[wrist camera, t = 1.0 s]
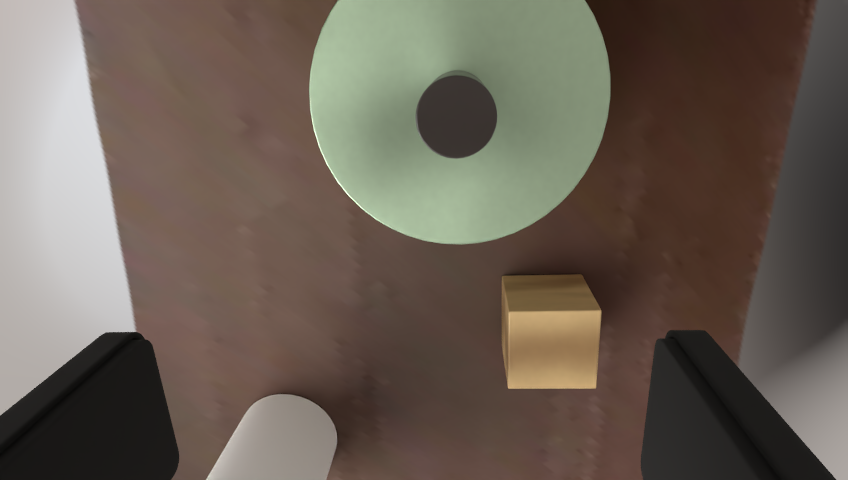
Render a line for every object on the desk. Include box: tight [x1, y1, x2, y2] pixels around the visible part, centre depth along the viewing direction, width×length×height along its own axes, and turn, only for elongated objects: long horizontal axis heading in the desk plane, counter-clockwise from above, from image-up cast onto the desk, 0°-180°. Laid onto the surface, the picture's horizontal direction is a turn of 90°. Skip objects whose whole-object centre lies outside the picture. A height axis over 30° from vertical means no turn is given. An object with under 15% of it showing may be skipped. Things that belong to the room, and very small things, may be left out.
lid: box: [309, 0, 610, 244], centre depth 20 cm, size 12×12×6 cm
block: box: [502, 274, 602, 389], centre depth 32 cm, size 5×5×5 cm
